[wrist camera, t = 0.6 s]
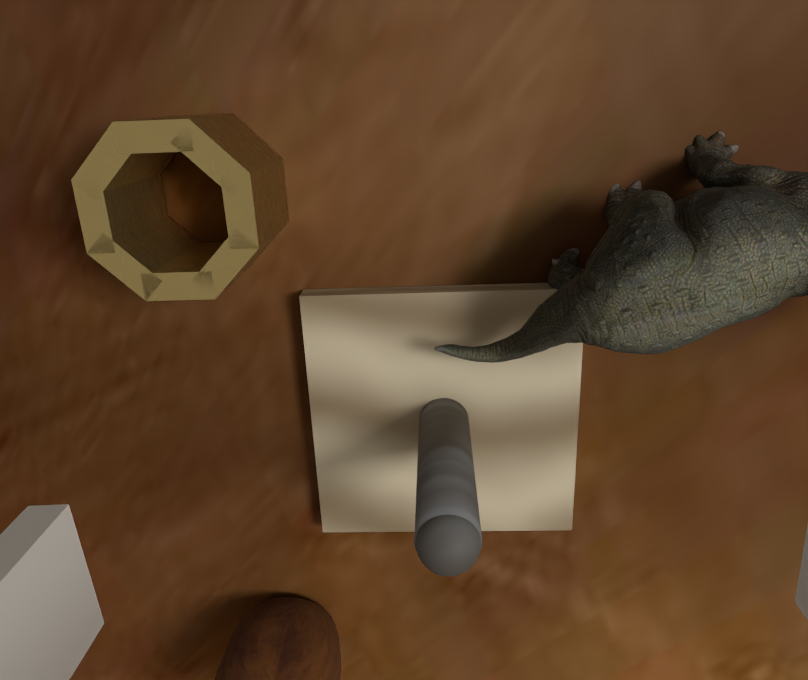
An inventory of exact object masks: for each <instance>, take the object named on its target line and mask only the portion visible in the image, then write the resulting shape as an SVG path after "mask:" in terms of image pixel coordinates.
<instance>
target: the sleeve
mask: <svg viewBox="0 0 808 680" xmlns="http://www.w3.org/2000/svg"><path fill="white" fill-rule="evenodd" d="M177 152H182V153H183V154H184V155H185V156H186V157H188V158H189V159H190V160H191V161H192V162H193V163H194V164H196V165H197V166H198V167H199V168H200V169H201V170H202V171H204V172H205V173H206V174H207V175H208V176H209V177H210V178H212V179H213V180H214V181H215V182H216V183H217V184H218V185H220V186H221V187H222V194H223V201H224V209H225V216H226V224H227V231H228V238H227V239H226V240H225V241H224V242H199V241H198V240H197V239H196V238H194V237H193V236H192V235H191V234H190V233H188V232H187V231H186V230H185V229H184V228H183V227H181V226H180V225H179V224H178V223H177V222H175V221H174V220H173V219H172V218H171V217H170V216H168V213H167V207H166V201H165V195H164V189H163V183H162V177H161V173H162V172H163V171H164V169H165V168H166V167H167V165H168V164H169V163H170V161H171V160H172V159H173V158H174V156H175V155H176V154H177ZM71 182H72V186H73V191H74V196H75V200H76V205H77V210H78V214H79V219H80V224H81V228H82V233H83V238H84V242H85V247H86V252H87V254H88V255H89V256H91V257H92V258H93V259H94V260H95V261H97V262H98V263H99V264H100V265H102V266H103V267H104V268H105V269H107V270H108V271H109V272H110V273H112V274H113V275H114V276H115V277H117V278H118V279H119V280H120V281H122V282H123V283H124V284H125V285H127V286H128V287H129V288H130V289H132V290H133V291H134V292H135V293H137V294H138V295H139V296H140V297H142V298H143V299H144V300H145V301H166V300H203V299H216V298H217V297H218V296H219V295H220V294H221V293H222V292H224V291H225V290H226V289H227V288H228V287H229V286H230V285H231V284H232V283H233V282H234V281H235V280H236V279H237V278H238V277H239V276H240V275H241V274H242V273H243V272H244V271H245V270H246V269H247V268H249V267H250V266H251V265H252V263H253V262H254V261H255V260H256V259H257V258H258V256H259V255H260V254H261V253H262V252H263V251H264V249H265V248H266V247H267V246H268V245H269V244H270V242H271V241H272V240H273V239H274V238H275V237H276V235H277V234H278V233H279V232H280V231H281V230H282V228H283V227H284V226H285V225H286V224H287V223H288V222H289V218H288V208H287V198H286V188H285V178H284V168H283V159H282V158H281V157H280V156H279V155H278V154H277V153H276V152H275V151H274V150H272V149H271V148H270V147H269V146H268V145H267V144H266V143H265V142H264V141H263V140H261V139H260V138H259V137H258V136H257V135H256V134H255V133H254V132H253V131H252V130H250V129H249V128H248V127H247V126H246V125H245V124H244V123H243V122H242V121H241V120H239V119H238V118H237V117H236V116H235V115H234V114H215V115H191V116H168V117H157V118H146V119H136V120H125V121H115V122H112V123H111V125H110V126H109V128H108V129H107V130H106V132H105V133H104V135H103V136H102V137H101V139H100V140H99V142H98V143H97V144H96V146H95V147H94V149H93V150H92V151H91V153H90V154H89V156H88V157H87V158H86V160H85V161H84V163H83V164H82V165H81V167H80V168H79V170H78V171H77V172H76V174H75V175H74V177H73V178H72V179H71Z"/></svg>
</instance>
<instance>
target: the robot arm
mask: <svg viewBox="0 0 808 680" xmlns="http://www.w3.org/2000/svg"><path fill="white" fill-rule="evenodd" d="M795 603H796V604H797V606H798V607H799V608H800V610H801V611H802V613H803V614H804V616H805V617H806V618H807V620H808V526H807V532H806V538H805V544H804V550H803V556H802V562H801V568H800V574H799V580H798V586H797V592H796V598H795ZM103 624H104V621H103V617H102V614H101V611H100V607H99V604H98V601H97V597H96V594H95V591H94V587H93V584H92V581H91V577H90V574H89V571H88V567H87V564H86V560H85V557H84V554H83V550H82V547H81V544H80V540H79V537H78V534H77V530H76V527H75V524H74V520H73V517H72V514H71V510H70V507H69V504H64V505H41V506H28V507H27V508H26V509H25V510H24V511H23V512H22V513H21V514H20V515H19V516H18V517H17V518H16V519H15V520H14V521H13V522H12V523H11V524H10V525H9V526H8V527H7V528H6V529H5V530H4V531H3V532H2V534H1V535H0V680H69V679H70V678H71V676H72V675H73V673H74V671H75V670H76V668H77V667H78V665H79V663H80V662H81V660H82V658H83V657H84V655H85V654H86V652H87V650H88V649H89V647H90V645H91V644H92V642H93V641H94V639H95V637H96V636H97V634H98V632H99V631H100V629H101V628H102V626H103Z"/></svg>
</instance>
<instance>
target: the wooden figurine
mask: <svg viewBox="0 0 808 680" xmlns="http://www.w3.org/2000/svg"><path fill="white" fill-rule="evenodd" d="M340 673H341V655H340V645H339V637H338V633H337V630H336V626H335V623H334V621H333V619H332V617H331V615H330V614H329V613H328V612H327V611H326V610H325V609H324V608H323V607H321V606H319V605H317V604H315V603H313V602H311V601H309V600H305V599H301V598H298V597H279V598H272V599H268V600H267V601H265V602H263V603H262V604H260V605H259V606H257V607H256V608H255V609H253V610H252V611H251V612H250V613H249V614H248V615H247V616H246V617H245V618H244V619H243V620H242V621H241V622H240V624H239V626H238V627H237V629H236V630H235V632H234V633H233V635H232V638H231V640H230V643H229V645H228V647H227V650H226V652H225V654H224V657H223V659H222V661H221V664H220V666H219V669H218V672H217V674H216V677H215V680H340Z"/></svg>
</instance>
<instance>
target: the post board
mask: <svg viewBox="0 0 808 680" xmlns="http://www.w3.org/2000/svg"><path fill="white" fill-rule="evenodd" d="M556 291H557V289H555V288H552V287H551V286H549V284H548V283H518V284H482V285H446V286H410V287H374V288H338V289H304V290H303V291H302V293H301V294H300V296H299V300H300V310H301V320H302V330H303V340H304V350H305V360H306V370H307V380H308V390H309V400H310V410H311V420H312V429H313V439H314V449H315V459H316V469H317V479H318V489H319V499H320V509H321V519H322V529H323V532H415V538H414V544H415V548H416V551H417V553H418V556H419V558H420V560H421V561H422V563H423V564H424V565H425V566H426V567H427V568H428V569H429V570H430V571H432V572H434V573H435V574H438V575H441V576H457V575H460V574H462V573H464V572H466V571H467V570H469V569H470V568H471V567H472V566H473V564H474V563H475V562H476V560H477V558H478V556H479V553H480V550H481V547H482V534H481V531H532V530H572V519H573V502H574V485H575V468H576V451H577V434H578V418H579V401H580V384H581V367H582V350H583V343H580V342H579V343H565V344H561V345H559V346H555V347H551V348H549V349H547V350H544V351H542V352H538V353H535V354H532V355H529V356H526V357H523V358H519V359H514V360H509V361H505V362H495V363H490V362H475V361H469V360H465V359H461V358H457V357H453V356H450V355H447V354H445V353H442V352H439V351H437V350H434V348H435V347H437V346H441V345H446V344H455V345H461V346H470V347H476V346H484V345H488V344H491V343H494V342H496V341H499V340H502V339H504V338H507V337H508V336H510V335H512V334H514V333H515V332H517V331H519V330H520V329H521V328H522V327H523V326H524V324H525V323H526V322H527V320H528V319H529V317H531V316H532V314H533V313H534V312H535V310H536V309H537V307H538V306H539V305H540V304H542V303H543V302H544V301H545V300H546V299H547V298H549V297H550V296H551V295H553V294H554V293H555V292H556Z"/></svg>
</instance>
